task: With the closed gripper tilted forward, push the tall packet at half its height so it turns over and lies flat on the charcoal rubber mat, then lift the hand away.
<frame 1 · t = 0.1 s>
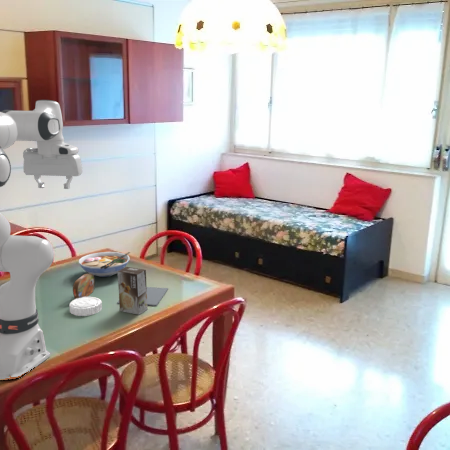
hand: (54, 188, 181), 48 cm above the table, tool pointing down, fingers open, 8 cm apart
tin: (84, 296, 211), on the table
mat: (143, 296, 211), on the table
mooncake: (86, 310, 198), on the table
ramen bowl: (105, 274, 236), on the table
coffee box: (133, 310, 198), on the table
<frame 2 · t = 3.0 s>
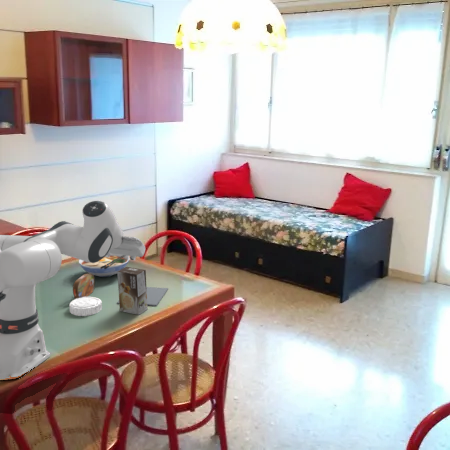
hand: (120, 257, 179), 25 cm above the table, tool tilted 45°, fingers open, 8 cm apart
nothing on the table moved.
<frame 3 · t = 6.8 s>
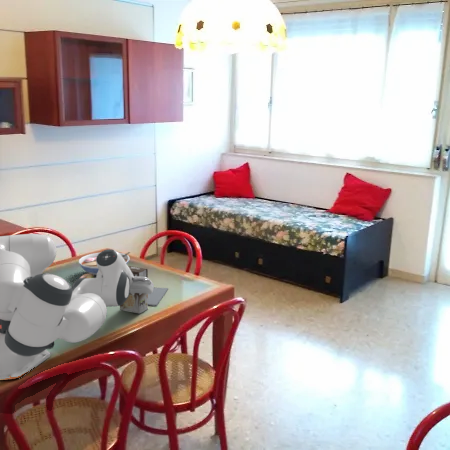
hand: (130, 293, 192), 8 cm above the table, tool tilted 45°, fingers closed
coffee box: (133, 310, 198), on the table, touching gripper
everything else where it was.
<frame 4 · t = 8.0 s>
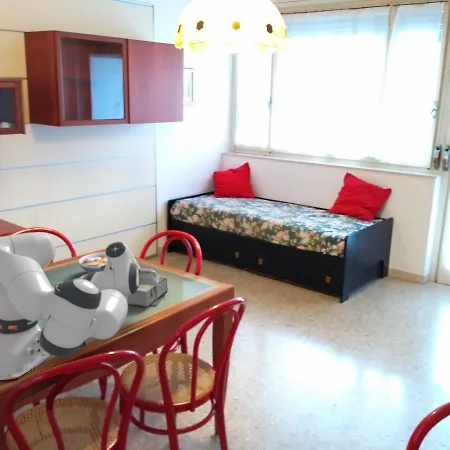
hand: (136, 285, 200), 8 cm above the table, tool tilted 45°, fingers closed
coffee box: (136, 298, 199), point 4 cm above the table, touching mat
everything else where it was.
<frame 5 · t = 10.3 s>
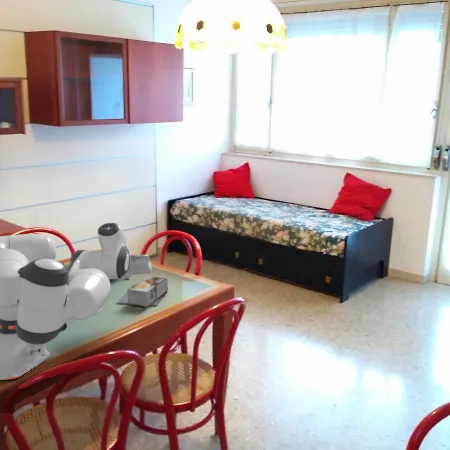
hand: (126, 278, 190), 14 cm above the table, tool tilted 35°, fingers closed
nothing on the table moved.
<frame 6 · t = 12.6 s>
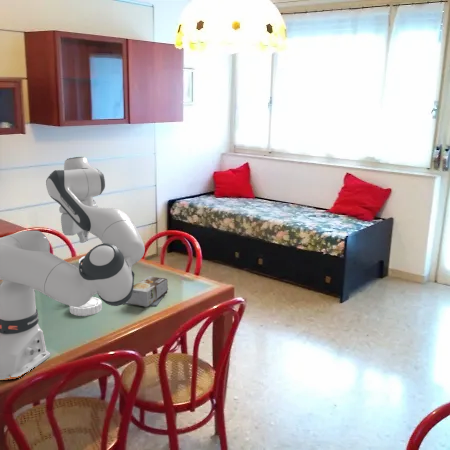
hand: (84, 241, 183), 29 cm above the table, tool pointing down, fingers closed
nothing on the table moved.
at the end: coffee box tilted 90°; coffee box touching mat; coffee box inside the target area (3.2 cm from its centre), point 3.8 cm above the table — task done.
